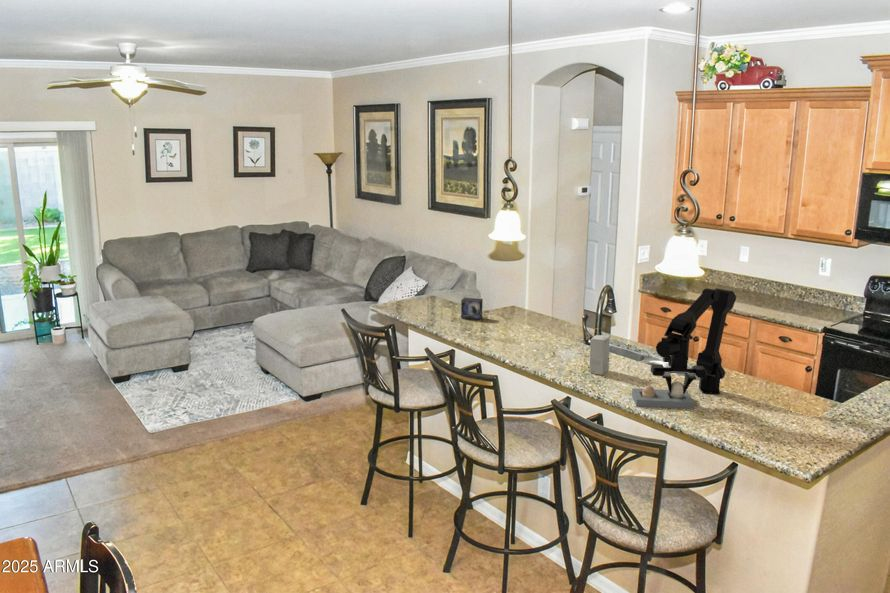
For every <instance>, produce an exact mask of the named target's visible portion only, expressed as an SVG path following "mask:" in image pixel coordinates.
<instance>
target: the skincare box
mask: <svg viewBox="0 0 890 593" xmlns="http://www.w3.org/2000/svg"><path fill="white" fill-rule="evenodd" d="M610 338H611V337H610V336H609V335H604V334H603V335H602V334H596V335H593V337H592V338H590V345H589V347H590V348H589V370H588V371H589V374H595V375H599V376H603V375H604V374H605V373H607V372H608V371H609V367H610V366H609V364H610V363H609V362H610Z"/></svg>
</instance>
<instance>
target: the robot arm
mask: <svg viewBox="0 0 890 593" xmlns="http://www.w3.org/2000/svg"><path fill="white" fill-rule="evenodd" d="M736 300H737V295H736V294H735V292H734V291H733V290H729V289H724V288H719V287H718V288H717V287H716V288H704V289H703V290H702V292H701V294H700V295H699V296H698V297H697V299H695V301H693V303H692V304H691V305H690V306H689V307H688V308H687V309H686V310H685V311H684V312H680V313H678V314H677V315H676V316H674V317H673V318H672V320H671V321H670V323H669V324H668V327H667V329H666V330H665V333H664V337H662V338H661V341H658V343H656V346H655V351H656V354H657V355H658V356H659V357H661V358H662V362H663V363H668V364H667V365H668V367H666V366H665V367H664V364H662V363H661V364H659V363H658V364H657V363H652V365H651V366H650V372H651V374H652V376H654V377H662V378H663V379H665V381H666V385H667V390H669V393H671V385H672V376H671V374H684V381H683V386H684V390H683V394H685V392H686V391H688V388H689V386H690V385H691V384H692V382H694V381H695V380H697V378H699V382H698V389H699V390H700V391H701V393H702V394H715V395H720V394H721V391H720V386H721V385H720V384H721V380H723V379H724V378H725V376H726V370H725V369H724V367H723V366H722V360H723V359H722V357H721V354H720V348H721V343H722V338H723V334H724V329H725V326H726V320H727V316H728V313H729V312H731V310H732V309H733V308H734V305H735V302H736ZM709 307H711V310H712V314H711V321H710V325H709V329H708V335H707V339H706V341H705V342H706V343H705V348H704V349H703V350H702V351H701V352H698V354H697V358H696V359H697V360H696V361H695V363H696V365H692V367H691V368H689V367H688V362H689V349H690V348H689V347H690V341H691V340H693V339H694V337H693V336H692V335H691V334H692V333H693V332H694V331H695V329H696V328H697V321H698V320H699V319H700V317H702V315H703V314H704V313H705V312H706V311H707V310H708V309H709Z"/></svg>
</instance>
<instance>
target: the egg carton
mask: <svg viewBox="0 0 890 593" xmlns="http://www.w3.org/2000/svg"><path fill="white" fill-rule="evenodd" d="M631 396H632V399H633V401H634V404H635V407H642V408H643V407H644V408H661V409H662V408H664V409H685V410H695V401H694V400H693V398H692V397H691V394H690V393H689V391H688V390H686V392H685V394H683V398H681V399H676V398H672V397H671V396H670V393H669V389H655V388H654V387H653V386H652V385H646V386H644V387H643V388H636V387H635V388H632V389H631Z"/></svg>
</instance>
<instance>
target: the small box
mask: <svg viewBox="0 0 890 593" xmlns="http://www.w3.org/2000/svg"><path fill="white" fill-rule="evenodd" d="M460 306H461V307H460V308H461V309H460V310H461V311H460V312H461V313H460V317H461V318H465V319H464V320H471V319H475V320H474V321H480V320H482V319H483V298H473V297H463V298H462V299H461V305H460ZM461 318H460V319H461Z"/></svg>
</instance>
